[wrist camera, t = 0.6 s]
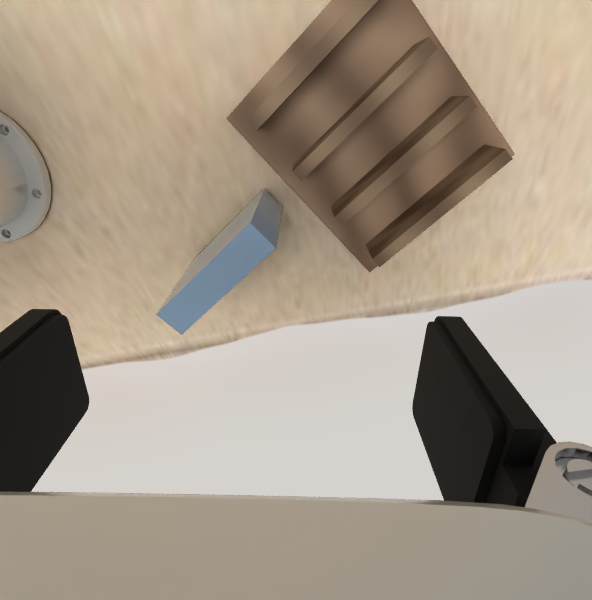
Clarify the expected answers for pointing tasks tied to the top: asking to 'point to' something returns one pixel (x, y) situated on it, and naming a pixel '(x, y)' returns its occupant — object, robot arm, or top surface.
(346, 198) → the rack
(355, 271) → the top surface
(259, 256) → the tile
